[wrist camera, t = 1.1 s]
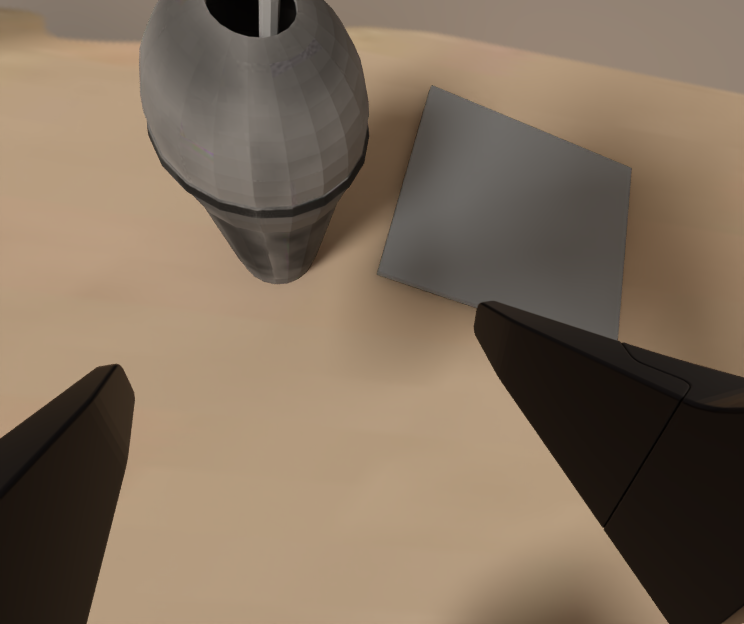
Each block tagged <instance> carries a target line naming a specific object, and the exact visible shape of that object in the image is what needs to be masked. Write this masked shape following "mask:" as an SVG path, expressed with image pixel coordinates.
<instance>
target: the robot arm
mask: <svg viewBox="0 0 744 624" xmlns="http://www.w3.org/2000/svg"><path fill="white" fill-rule="evenodd" d="M474 333H475V336H476V337H477V339H478V341H479V343H480V345H481V347H482V349H483V350H484V352H485V354H486V356H487V358H488V360H489V361H490V363H491V365H492V367H493V369H494V371H495V372H496V374H497V376H498V377H499V379H500V380H501V382H502V383H503V385H504V386H505V388H506V389H507V391H508V392H509V394H510V395H511V396H512V398H513V399H514V401H515V402H516V404H517V405H518V406H519V408H520V409H521V411H522V412H523V414H524V415H525V417H526V418H527V419H528V421H529V422H530V424H531V425H532V427H533V428H534V430H535V431H536V432H537V434H538V435H539V437H540V438H541V440H542V441H543V443H544V444H545V445H546V447H547V448H548V450H549V451H550V453H551V454H552V455H553V457H554V458H555V460H556V461H557V463H558V464H559V466H560V467H561V468H562V470H563V471H564V473H565V474H566V476H567V477H568V479H569V480H570V481H571V483H572V484H573V486H574V487H575V489H576V490H577V491H578V493H579V494H580V496H581V497H582V499H583V500H584V502H585V503H586V504H587V506H588V507H589V509H590V510H591V512H592V513H593V515H594V516H595V517H596V519H597V520H598V522H599V523H600V525H601V526H602V527H603V528H604V531H605V532H606V534H607V535H608V537H609V538H610V539H611V541H612V542H613V544H614V545H615V547H616V548H617V549H618V551H619V552H620V554H621V555H622V557H623V558H624V560H625V561H626V562H627V564H628V565H629V567H630V568H631V570H632V571H633V573H634V574H635V575H636V577H637V578H638V580H639V581H640V583H641V584H642V586H643V587H644V588H645V590H646V591H647V593H648V594H649V596H650V597H651V598H652V600H653V601H654V603H655V604H656V606H657V607H658V609H659V610H660V611H661V613H662V614H663V616H664V617H665V619H666V620H667V622H668V623H669V624H742V623H744V377H740V376H736V375H733V374H729V373H726V372H722V371H718V370H715V369H711V368H707V367H704V366H700V365H697V364H693V363H689V362H686V361H682V360H679V359H675V358H672V357H668V356H665V355H662V354H658V353H655V352H652V351H649V350H645V349H642V348H639V347H636V346H633V345H630V344H627V343H621V342H620V341H617V340H614V339H611V338H608V337H605V336H602V335H599V334H596V333H593V332H589V331H586V330H583V329H580V328H577V327H574V326H571V325H568V324H565V323H562V322H559V321H556V320H552V319H549V318H546V317H543V316H540V315H537V314H534V313H531V312H528V311H525V310H522V309H519V308H515V307H512V306H509V305H506V304H503V303H500V302H497V301H493V300H491V301H485V302H481V303H479V304H478V306H477V311H476V317H475V323H474ZM134 403H135V396H134V391H133V389H132V387H131V384H130V382H129V380H128V378H127V376H126V374H125V372H124V370H123V368H122V367H121V366H120V365H119V364H111V365H105V366H99V367H97V368H95V369H94V370H92V371H91V372H90V373H88V374H87V375H86V376H84V377H83V378H82V379H80V380H79V381H78V382H76V383H75V384H73V385H72V386H71V387H69V388H68V389H67V390H65V391H64V392H63V393H61V394H60V395H59V396H57V397H56V398H55V399H53V400H52V401H50V402H49V403H48V404H46V405H45V406H44V407H42V408H41V409H40V410H38V411H37V412H36V413H34V414H33V415H31V416H30V417H29V418H27V419H26V420H25V421H23V422H22V423H21V424H19V425H18V426H17V427H15V428H14V429H13V430H11V431H10V432H8V433H7V434H6V435H4V436H3V437H2V438H0V624H87V620H88V616H89V612H90V608H91V604H92V600H93V596H94V592H95V589H96V585H97V581H98V577H99V573H100V569H101V565H102V561H103V557H104V553H105V549H106V545H107V541H108V537H109V533H110V529H111V525H112V521H113V517H114V513H115V509H116V505H117V501H118V497H119V493H120V489H121V485H122V481H123V477H124V474H125V469H126V465H127V460H128V453H129V445H130V437H131V428H132V420H133V411H134Z"/></svg>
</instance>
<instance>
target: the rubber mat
mask: <svg viewBox="0 0 744 624" xmlns="http://www.w3.org/2000/svg"><path fill="white" fill-rule="evenodd" d="M631 170H632V168H631V167H628V166H626V165H623V164H621V163H619V162H616V161H614V160H611V159H609V158H606V157H604V156H602V155H599V154H597V153H594V152H592V151H590V150H587V149H585V148H582V147H580V146H578V145H575V144H573V143H570V142H568V141H566V140H563V139H561V138H558V137H556V136H553V135H551V134H549V133H546V132H544V131H541V130H539V129H537V128H534V127H532V126H529V125H527V124H525V123H522V122H520V121H517V120H515V119H512V118H510V117H508V116H505V115H503V114H500V113H498V112H496V111H493V110H491V109H488V108H486V107H484V106H481V105H479V104H476V103H474V102H471V101H469V100H467V99H464V98H462V97H459V96H457V95H455V94H452V93H450V92H447V91H445V90H443V89H440V88H438V87H435V86H433V85H432V86H431V88H430V90H429V93H428V97H427V100H426V104H425V107H424V111H423V114H422V118H421V121H420V125H419V128H418V132H417V135H416V139H415V142H414V146H413V149H412V153H411V156H410V160H409V163H408V167H407V170H406V174H405V177H404V181H403V184H402V188H401V191H400V195H399V198H398V202H397V205H396V209H395V212H394V216H393V219H392V223H391V226H390V230H389V233H388V237H387V240H386V243H385V247H384V250H383V254H382V257H381V261H380V264H379V268H378V271H377V275H380V276H383V277H386V278H389V279H392V280H395V281H398V282H401V283H404V284H407V285H410V286H413V287H416V288H419V289H421V290H424V291H427V292H430V293H433V294H436V295H439V296H442V297H445V298H448V299H451V300H454V301H457V302H460V303H463V304H466V305H469V306H472V307H475V308H477V306H478V304H479V303H481V302H485V301H491V300H493V301H497V302H500V303H503V304H506V305H509V306H512V307H515V308H519V309H522V310H525V311H528V312H531V313H534V314H537V315H540V316H543V317H546V318H549V319H552V320H556V321H559V322H562V323H565V324H568V325H571V326H574V327H577V328H580V329H583V330H586V331H589V332H593V333H596V334H599V335H602V336H605V337H608V338H611V339H614V340H617V341H618V331H619V318H620V306H621V294H622V281H623V269H624V257H625V244H626V232H627V220H628V207H629V195H630V183H631Z"/></svg>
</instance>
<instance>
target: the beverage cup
mask: <svg viewBox="0 0 744 624" xmlns="http://www.w3.org/2000/svg"><path fill="white" fill-rule="evenodd" d="M139 71H140V96H141V101H142V107H143V112H144V114H145V117H146V119H147V129H148V135H149V138H150V140H151V142H152V144H153V147H154V149H155V151H156V153H157V155H158V158H159V160H160V162H161V164H162V166H163V167H164V168H165V169H166V170H167V171H168V172H169V174H170V175H171V176H172V177H173V178H174V179H175V180H176V181H177V182H178V183H179V184H180V185H181V186H182V187H183V188H184V189H185V190H186V191H187V192H188V193H190V194H192V195H193V196H194V197H195V198H196V199H197V200H198V201H199V202H200V203H201V204H202V205H203V206H204V207H205V209H206V210H207V212H208V213H209V215H210V216H211V218H212V219H213V221H214V222H215V224H216V225H217V227H218V228H219V230H220V231H221V233H222V234H223V236H224V237H225V239H226V240H227V242H228V243H229V245H230V246H231V248H232V249H233V251H234V252H235V254H236V255H237V257H238V258H239V259H240V261H241V262H242V263H243V264H244V265H245V266H246V268H247V269H248V270H249V271H250V272H251V273H252V274H253V275H254V276H255V277H257V278H259V279H260V280H262V281H264V282H268V283H273V284H284V283H289V282H292V281H294V280H297V279H299V278H300V277H301V276H302V275H303V274H305V273H306V272H307V270H308V269H309V267H310V265H311V264H312V261H313V260H314V258H315V256H316V254H317V252H318V249H319V247H320V244H321V242H322V239H323V237H324V234H325V232H326V229H327V227H328V224H329V222H330V219H331V217H332V214H333V212H334V209H335V207H336V204H337V202H338V201H339V199H340V198H341V196H342V195H343V193H344V192H345V190H346V189H347V188H349V187H350V185H351V183H352V182H353V180H354V179H355V177H356V175H357V174H358V172H359V170H360V169H361V167H362V166H363V164H364V161H365V156H366V150H367V145H368V139H369V128H368V117H369V104H368V96H367V91H366V85H365V79H364V74H363V69H362V65H361V60H360V57H359V55H358V53H357V50H356V48H355V46H354V44H353V42H352V40H351V38H350V37H349V35H348V33H347V31H346V29H345V27H344V26H343V24H342V22H341V20H340V19H339V18H338V16H337V15H336V13H335V12H334V10H333V9H332V8H331V7H330V6H329V5H328V4H327V3H326V2H325V1H324V0H159V1H158V2H157V4H156V5H155V7H154V9H153V12H152V14H151V17H150V19H149V21H148V24H147V26H146V29H145V31H144V34H143V38H142V41H141V45H140V54H139Z"/></svg>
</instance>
